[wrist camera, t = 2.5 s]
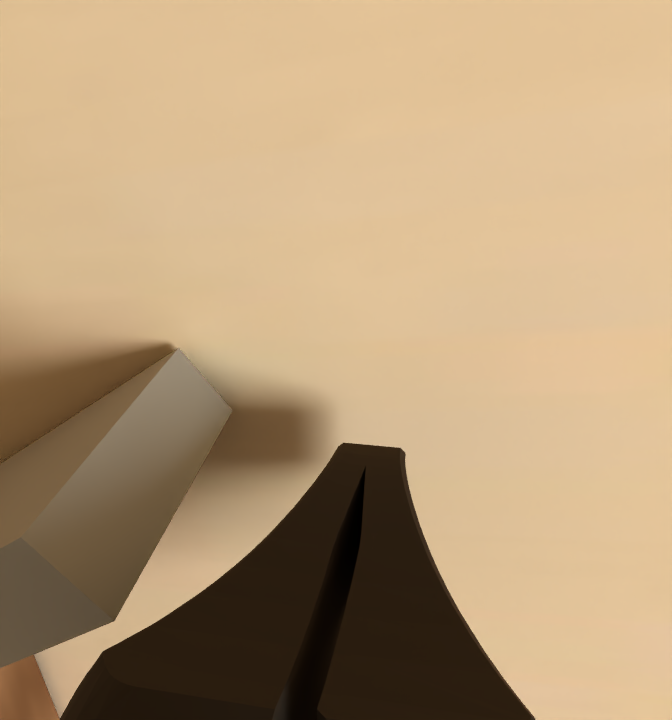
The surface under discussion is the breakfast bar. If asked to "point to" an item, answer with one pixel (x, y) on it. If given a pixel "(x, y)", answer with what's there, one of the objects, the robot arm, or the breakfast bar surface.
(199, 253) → the breakfast bar surface
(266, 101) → the breakfast bar surface
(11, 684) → the fixed leaf
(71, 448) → the swing leaf
